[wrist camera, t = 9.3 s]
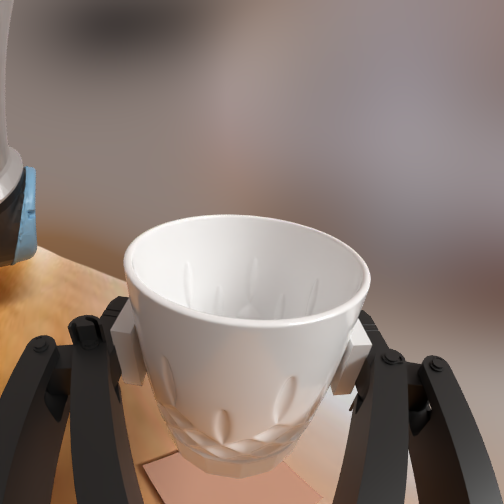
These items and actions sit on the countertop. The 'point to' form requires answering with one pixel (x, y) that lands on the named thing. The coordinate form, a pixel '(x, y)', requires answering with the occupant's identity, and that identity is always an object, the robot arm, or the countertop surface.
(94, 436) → the robot arm
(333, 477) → the countertop surface
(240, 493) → the coaster
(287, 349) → the white cup
